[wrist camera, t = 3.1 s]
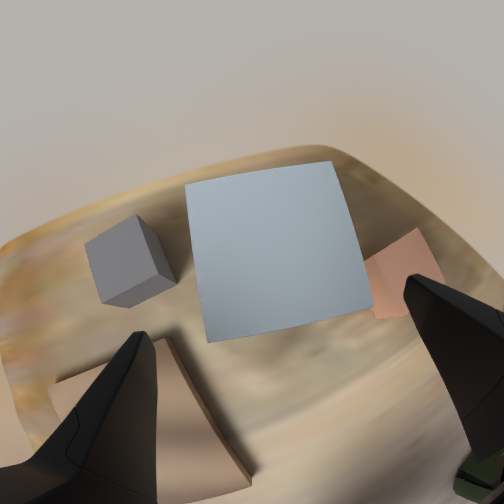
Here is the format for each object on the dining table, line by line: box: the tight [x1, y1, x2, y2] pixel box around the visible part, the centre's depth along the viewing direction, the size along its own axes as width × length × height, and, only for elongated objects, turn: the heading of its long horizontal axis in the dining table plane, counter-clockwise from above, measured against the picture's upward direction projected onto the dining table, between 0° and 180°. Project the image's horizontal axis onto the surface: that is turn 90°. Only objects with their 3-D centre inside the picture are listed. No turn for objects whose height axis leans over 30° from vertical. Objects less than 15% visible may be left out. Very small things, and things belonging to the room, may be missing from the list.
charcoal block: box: [84, 214, 177, 308], centre depth 17 cm, size 4×4×4 cm
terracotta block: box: [364, 227, 446, 319], centre depth 16 cm, size 4×4×4 cm
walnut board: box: [46, 337, 252, 504], centre depth 15 cm, size 12×12×1 cm
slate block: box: [185, 161, 374, 343], centre depth 13 cm, size 4×4×11 cm
